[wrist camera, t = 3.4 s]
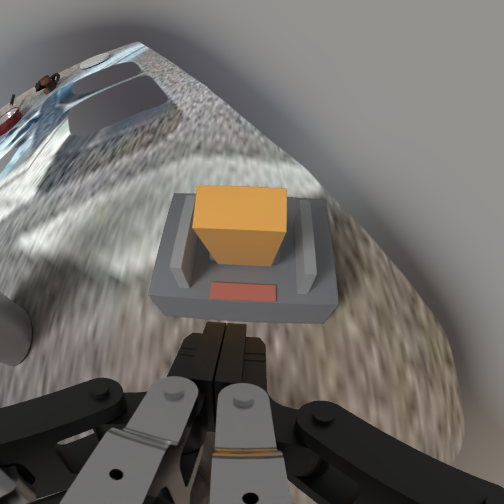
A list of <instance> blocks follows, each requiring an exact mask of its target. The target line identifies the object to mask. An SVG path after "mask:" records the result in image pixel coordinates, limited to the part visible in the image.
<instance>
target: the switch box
mask: <svg viewBox="0 0 504 504" xmlns="http://www.w3.org/2000/svg"><path fill="white" fill-rule="evenodd" d="M195 200H196V194H185V193H174V195H173V199H172V202H171V206H170V209H169V212H168V216H167V220H166V223H165V227H164V231H163V234H162V238H161V242H160V246H159V250H158V254H157V258H156V263H155V267H154V271H153V276H152V280H151V285H150V289H149V294H148V295H149V296H150V297H151V299H152V300H153V301H154V303H155V304H156V305H157V306H158V308H159V309H160V310H161V311H162V313H163V314H164V315H167V316H177V317H188V318H200V319H213V320H227V321H245V322H267V323H317V324H323V323H324V322H325V320H326V319H327V318H328V317H329V316H330V314H331V313H332V312H333V311H334V310H335V308H336V307H337V306H338V305H339V303H338V292H337V282H336V272H335V263H334V255H333V247H332V239H331V232H330V225H329V218H328V212H327V205H326V200H320V199H307V198H293V197H287V223H286V234H285V236H284V238H283V241H282V243H281V245H280V259H279V264H272V265H271V267H269V266H248V265H228V264H218V263H217V262H216V261H211V260H210V252H209V251H208V249H207V248H206V246H205V245H204V244H203V242H202V241H201V239H200V238H199V237H198V235H197V234H196V232H195V231H194V229H193V228H192V226H193V217H194V208H195Z"/></svg>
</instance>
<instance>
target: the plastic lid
mask: <svg viewBox="0 0 504 504" xmlns="http://www.w3.org/2000/svg"><path fill="white" fill-rule="evenodd" d="M107 58H109V54H108V53H104V54H100V55H97V56H94V57H92V58H90V59H87V60H86V61H84V62H82V63H81V64H80V68H81V69H84V68H88V67H91V66H93V65H96V64H98V63H101V62H102V61H104V60H106V59H107Z"/></svg>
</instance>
